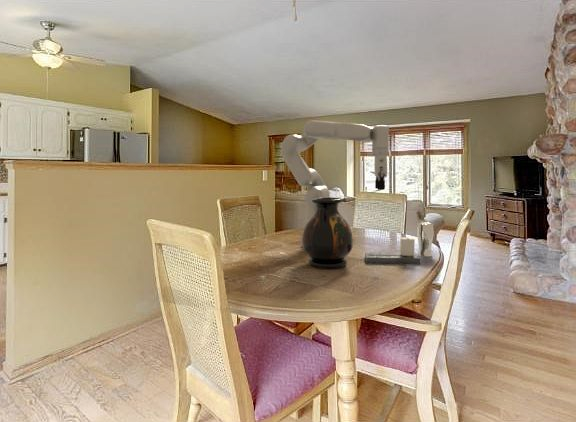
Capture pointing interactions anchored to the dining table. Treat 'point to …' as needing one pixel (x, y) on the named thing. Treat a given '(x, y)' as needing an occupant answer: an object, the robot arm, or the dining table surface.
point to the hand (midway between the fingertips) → (379, 189)
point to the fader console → (391, 258)
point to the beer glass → (425, 238)
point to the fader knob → (407, 246)
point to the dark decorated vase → (327, 235)
